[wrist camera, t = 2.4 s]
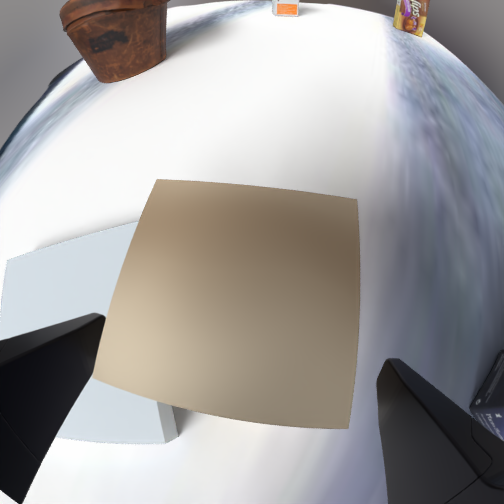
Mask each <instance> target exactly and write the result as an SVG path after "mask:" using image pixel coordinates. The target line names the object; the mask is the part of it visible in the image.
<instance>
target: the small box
mask: <svg viewBox="0 0 504 504" xmlns="http://www.w3.org/2000/svg"><path fill="white" fill-rule="evenodd" d="M470 411H471V412H472V414H473V415H474V416H475V418H476V419H477V420H478V422H479V423H480V424H481V425H482V426H484V427H485V428H486V429H488V430H489V431H490V432H491V433H493V434H494V435H496V436H497V437H499V438H500V439H502V440H503V441H504V350H501V352H500V354H499V356H498V358H497V360H496V362H495V365H494V366H493V369H492V370H491V372H490V374H489V376H488V378H487V380H486V381H485V383H484V385H483V387H482V388H481V389H480V391H479V393H478V395H477V397H476V398H475V400H474V402H473V403H472V405H471V407H470Z"/></svg>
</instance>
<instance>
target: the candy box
mask: <svg viewBox="0 0 504 504" xmlns="http://www.w3.org/2000/svg"><path fill="white" fill-rule="evenodd" d="M429 2H430V0H397V7H396V12H395V17H394V22H393V26H394V27H395V28H396V29H399V30H403V31H406V32H409V33H412V34H414V35H417V36H420V37H422V34H423V30H424V26H425V21H426V17H427V12H428V7H429Z"/></svg>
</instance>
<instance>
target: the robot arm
mask: <svg viewBox="0 0 504 504" xmlns="http://www.w3.org/2000/svg"><path fill="white" fill-rule="evenodd" d="M105 321H106V317H105V316H104V315H102V314H99V313H90V314H87V315H84V316H81V317H77V318H74V319H71V320H67V321H64V322H61V323H58V324H54V325H51V326H48V327H44V328H41V329H38V330H34V331H31V332H27V333H24V334H21V335H17V336H14V337H10V339H9V338H7V339H3V340H0V490H1V491H2V492H4V493H5V494H6V495H7V496H9V497H10V498H11V499H13V500H14V501H15V502H17V503H18V504H22V503H23V501H24V499H25V497H26V495H27V492H28V490H29V488H30V486H31V484H32V482H33V480H34V478H35V476H36V473H37V471H38V469H39V467H40V465H41V463H42V461H43V459H44V457H45V455H46V454H47V452H48V450H49V448H50V446H51V444H52V442H53V440H54V439H55V437H56V435H57V433H58V431H59V430H60V428H61V426H62V424H63V423H64V421H65V419H66V417H67V416H68V414H69V412H70V410H71V409H72V407H73V405H74V404H75V402H76V400H77V399H78V397H79V395H80V394H81V392H82V390H83V389H84V387H85V386H86V384H87V382H88V381H89V379H90V377H91V376H92V374H93V371H94V367H95V362H96V357H97V353H98V349H99V344H100V340H101V336H102V332H103V328H104V324H105ZM376 387H377V401H378V419H379V429H380V436H381V443H382V450H383V457H384V465H385V474H386V484H387V495H388V504H504V441H503V440H502V439H500V438H499V437H497V436H496V435H494V434H493V433H491V432H490V431H489V430H488V429H486V428H485V427H484V426H482V425H481V424H480V423H479V422H477V421H476V420H475V419H474V418H471V416H470V415H469V414H467V413H466V412H465V411H464V410H463V409H461V408H460V407H459V406H458V405H456V404H455V403H454V402H453V401H451V400H450V399H449V398H448V397H446V396H445V395H444V394H443V393H441V392H440V391H439V390H438V389H436V388H435V387H434V386H433V385H431V384H430V383H429V382H428V381H426V380H425V379H424V378H423V377H421V376H420V375H419V374H418V373H416V372H415V371H414V370H413V369H411V368H410V367H409V366H408V365H406V364H405V363H404V362H403V361H401V360H400V359H398V358H388V359H386V361H385V362H384V364H383V367H382V369H381V371H380V373H379V375H378V378H377V382H376Z"/></svg>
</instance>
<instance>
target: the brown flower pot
mask: <svg viewBox="0 0 504 504" xmlns="http://www.w3.org/2000/svg"><path fill="white" fill-rule="evenodd" d="M169 1H170V0H69V1H68V2H67V3H66V4H65V5H64V6H63V7H62V8H61V10H60V18H61V21H62V24H63V30H64V31H65V32H67V35H68V36H69V37H70V39H71V40H72V42H73V43H74V45H75V46H76V48H77V49H78V51H79V52H80V54H81V55H82V57H83V58H84V60H85V61H86V63H87V64H88V66H89V67H90V69H91V70H92V72H93V73H94V75H95V76H96V78H97V79H98V80H99V81H100V82H103V83H111V82H116V81H120V80H123V79H126V78H129V77H132V76H135V75H137V74H139V73H142V72H144V71H146V70H148V69H150V68H151V67H153V66H155V65H156V64H158V63H159V62H161V61H162V60H164V59H165V57H166V18H167V2H169Z"/></svg>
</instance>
